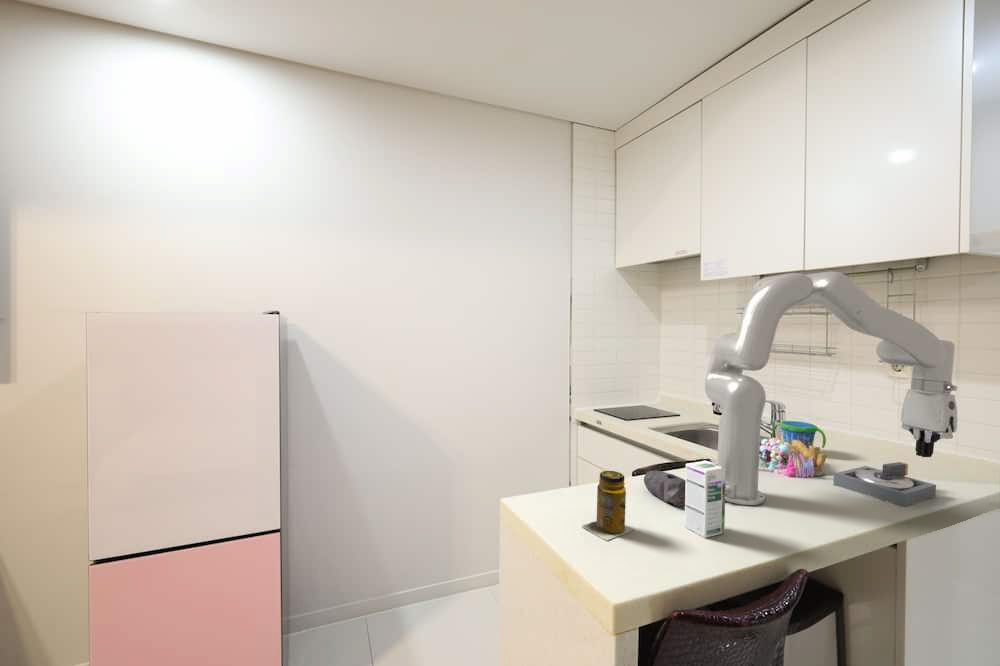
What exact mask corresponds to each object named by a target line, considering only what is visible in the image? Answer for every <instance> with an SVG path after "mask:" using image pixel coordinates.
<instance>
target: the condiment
mask: <svg viewBox="0 0 1000 666" xmlns="http://www.w3.org/2000/svg"><path fill="white" fill-rule="evenodd" d="M598 482H599V483H598V484H597V495H596V496H597V497H596V521H592V522H589V523H586V524H583V525H581V527H582V528H584V529H586V530H587V531H588V532H590V533H592V534H593V535H595V536H597V537H599V538H601V539H602V540H605V541H607V542H608V541H609V540H613V539H614V538H617V537H619V536H623V535H625V534H628V533H630V532H633V530H634V529H633V528H630V527H628V526H626V499H627V498H626V497H627V490H626V489H627V488H626V486H625V484H626V483H625V475H624V474H623V473H622V472H618V471H615V470H604V471H601V472H600V473H599V479H598Z"/></svg>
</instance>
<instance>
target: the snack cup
mask: <svg viewBox="0 0 1000 666" xmlns="http://www.w3.org/2000/svg"><path fill="white" fill-rule="evenodd" d="M779 426H780V429H781V432H782V439H783V440H782V441H784V442H788V443H789V444H790V445H791V444H792V441H793V440H799V441H801V442H802V443H803V444H804V445H806V447H807V448H808V449H809V446H814V441H815V435H816V433H817V432H818V433H820V434H821V436H822V445H821V448H822V449H824V448H825V446H826V443H827V439H826V435H825V432H824V431H823V430H822V429H820V428H819V427H818V426H817V425H816V424H813V423H810V422H805V421H804V422H803V421H795V420H783V421H780V422H779V423H777V424H775V425H774V426H773V428H772V430H771V438H776V432H775V429H777V427H779Z"/></svg>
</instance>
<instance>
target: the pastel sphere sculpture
mask: <svg viewBox="0 0 1000 666" xmlns="http://www.w3.org/2000/svg"><path fill="white" fill-rule="evenodd" d="M820 452H821V447H819V446H818V445H813V446H809V449H808V448H807V447H806V445H804V444H803V443H802V442H801V441H799V440H793V441H792V444H791V445H790V444H789V443H788V442H784V440H782V439H780V438H779V437H775V438H772V437H771V438H769V439H767V438H764V439H762V440H760V451H759V472H769V473H774V474H776V475H777V474H778V475H780V476H781V475H782V476H783V477H785V476H786V477H796V478H799V477H800V478H803V479H805V478H807V479H809V477H811V478H812V479H813V478H814V476H822V475H825V473H826V472H825V471H824V470H822V468H823V466H824V464H825V463H826V459H827V454H824V453H822V454H821V453H820Z"/></svg>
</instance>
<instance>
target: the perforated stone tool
mask: <svg viewBox="0 0 1000 666" xmlns="http://www.w3.org/2000/svg"><path fill="white" fill-rule="evenodd" d="M643 482H644V485H645V488H646V489H647V491H648V492H649V493H651V494H652V495H654V496H656V498H658V499H659V500H662V501H663V502H665V503H671V504H673V505H674V506H675V507H682V506H683V507H685V483H686V479H684V478H682V477H681V476H677V475H676V474H673V473H669V472H667V471H666V472H665V471H663V470H662V471H660V470H649V471H646V473H645V475H644V477H643Z"/></svg>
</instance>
